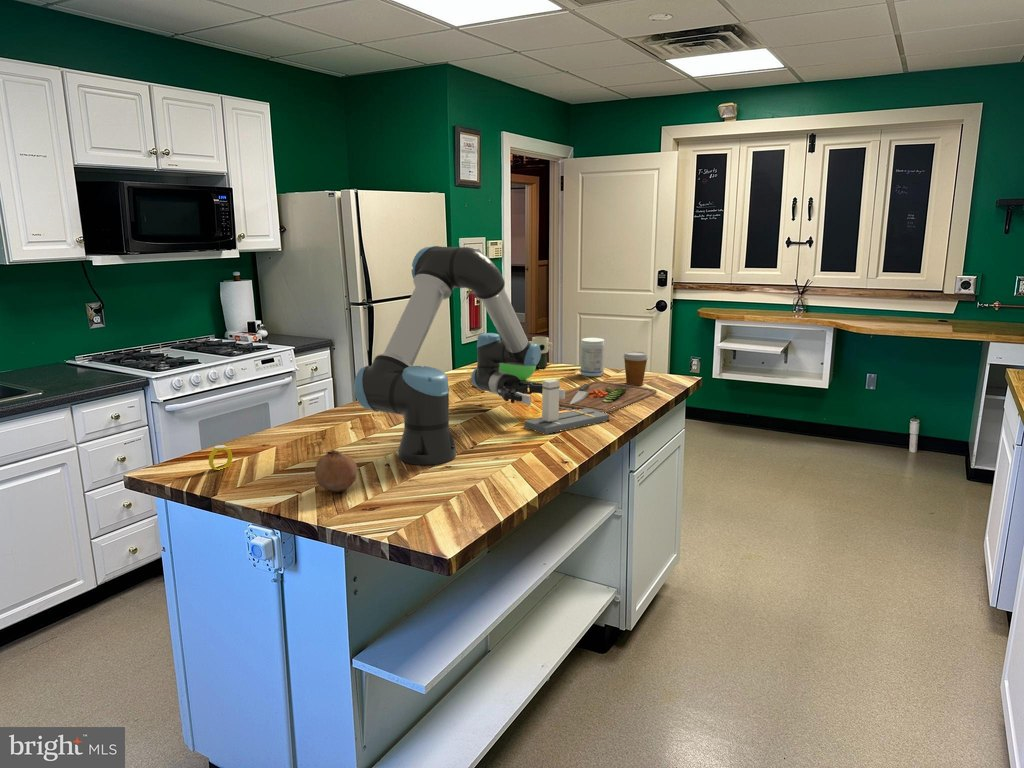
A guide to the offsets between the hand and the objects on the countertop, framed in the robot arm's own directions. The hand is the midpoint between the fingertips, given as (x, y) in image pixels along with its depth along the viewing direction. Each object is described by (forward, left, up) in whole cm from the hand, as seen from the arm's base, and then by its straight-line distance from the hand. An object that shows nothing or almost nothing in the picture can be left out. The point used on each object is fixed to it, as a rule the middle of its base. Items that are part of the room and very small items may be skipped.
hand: (547, 397), depth 216 cm
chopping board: (+39, +17, -10) cm, 44 cm away
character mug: (+55, +72, -9) cm, 91 cm away
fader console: (+6, -2, -9) cm, 11 cm away
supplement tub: (+63, +48, -9) cm, 80 cm away
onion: (-74, -15, -9) cm, 76 cm away
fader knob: (-1, -2, -6) cm, 7 cm away
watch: (-91, +17, -9) cm, 93 cm away
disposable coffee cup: (+65, +26, -9) cm, 71 cm away
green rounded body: (+30, +57, -9) cm, 65 cm away
